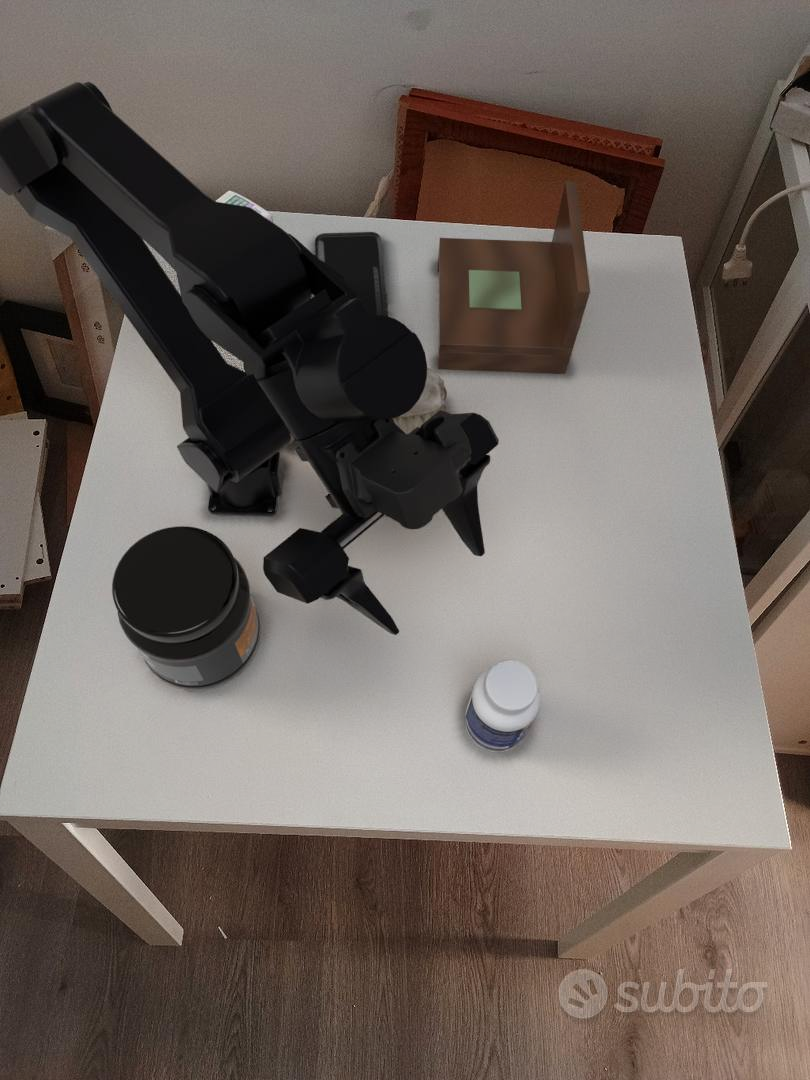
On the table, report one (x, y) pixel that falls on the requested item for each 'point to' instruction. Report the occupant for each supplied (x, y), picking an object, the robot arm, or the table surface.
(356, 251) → the phone
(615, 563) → the table surface
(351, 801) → the table surface
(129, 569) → the supplement container
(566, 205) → the wooden corner stand
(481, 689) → the pill bottle
